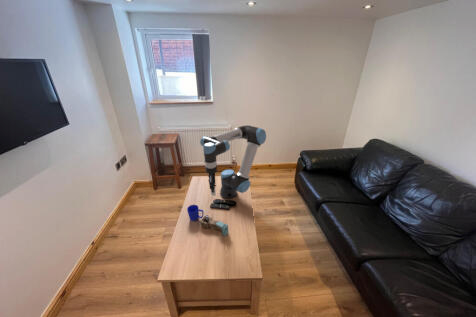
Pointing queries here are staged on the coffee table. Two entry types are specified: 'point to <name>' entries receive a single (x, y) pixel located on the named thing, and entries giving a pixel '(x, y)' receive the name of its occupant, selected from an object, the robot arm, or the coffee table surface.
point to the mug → (194, 212)
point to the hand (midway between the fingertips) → (213, 194)
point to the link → (209, 224)
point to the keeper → (223, 227)
